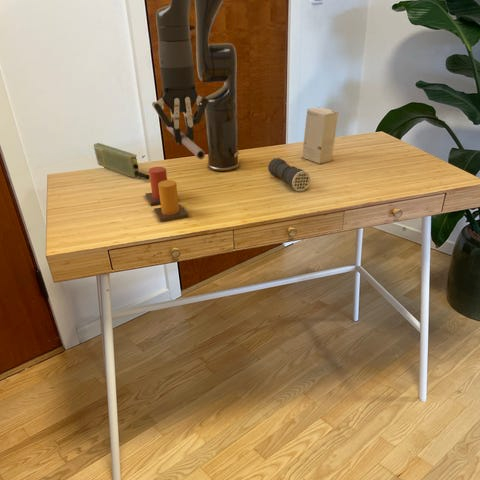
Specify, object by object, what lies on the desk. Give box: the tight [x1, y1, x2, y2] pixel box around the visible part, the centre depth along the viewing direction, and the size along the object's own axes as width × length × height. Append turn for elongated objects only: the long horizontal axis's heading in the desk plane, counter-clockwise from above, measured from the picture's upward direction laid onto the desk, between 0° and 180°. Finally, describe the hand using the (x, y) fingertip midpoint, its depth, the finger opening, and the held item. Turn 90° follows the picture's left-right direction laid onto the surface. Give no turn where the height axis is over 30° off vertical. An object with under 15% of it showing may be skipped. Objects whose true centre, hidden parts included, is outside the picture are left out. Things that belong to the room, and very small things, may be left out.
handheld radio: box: [93, 142, 150, 180], centre depth 140 cm, size 7×3×25 cm
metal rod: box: [165, 125, 206, 160], centre depth 113 cm, size 2×27×2 cm, turn 22°
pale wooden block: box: [301, 106, 339, 165], centre depth 143 cm, size 8×6×15 cm
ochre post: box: [153, 179, 189, 223], centre depth 114 cm, size 7×7×8 cm
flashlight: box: [267, 157, 311, 192], centre depth 130 cm, size 15×5×5 cm, turn 25°
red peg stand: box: [145, 166, 168, 206], centre depth 122 cm, size 7×7×8 cm
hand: (184, 143), depth 113 cm, fingers closed on metal rod, 2 cm apart
